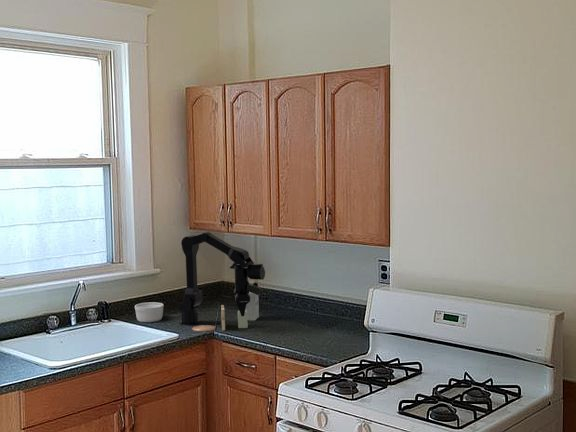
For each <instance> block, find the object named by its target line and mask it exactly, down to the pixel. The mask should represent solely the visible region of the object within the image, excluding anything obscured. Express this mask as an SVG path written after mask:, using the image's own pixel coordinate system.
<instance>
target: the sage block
mask: <svg viewBox="0 0 576 432" xmlns="http://www.w3.org/2000/svg"><path fill="white" fill-rule="evenodd" d="M248 321H249V320H247V310H245V314H244V316H241V313H240V311H239V310H237V327H238V329H247V328H248V327H249V326H248Z"/></svg>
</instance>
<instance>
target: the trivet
mask: <svg viewBox="0 0 576 432" xmlns="http://www.w3.org/2000/svg"><path fill="white" fill-rule="evenodd" d="M215 329H216V326H214V325H211V324H210V325H209V324H206V325H205V324H201V325H196V326H193V327H192V329H191V330H192V331H195V332H210V331H214V330H215Z"/></svg>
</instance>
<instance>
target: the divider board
mask: <svg viewBox="0 0 576 432" xmlns="http://www.w3.org/2000/svg"><path fill="white" fill-rule="evenodd" d="M220 312H221V329H222V331H226V321H225V320H226V319H225V318H226V315H225V306H224V304H221V305H220Z"/></svg>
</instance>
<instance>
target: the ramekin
mask: <svg viewBox="0 0 576 432" xmlns="http://www.w3.org/2000/svg"><path fill="white" fill-rule="evenodd" d="M134 309H135V316H136V320H137V321H139V322H140V323H154V322H158V321H161V320H162V318H163V313H164V303H162V302H154V301H153V302H150V301H149V302H140V303H137V304H135V305H134Z"/></svg>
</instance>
